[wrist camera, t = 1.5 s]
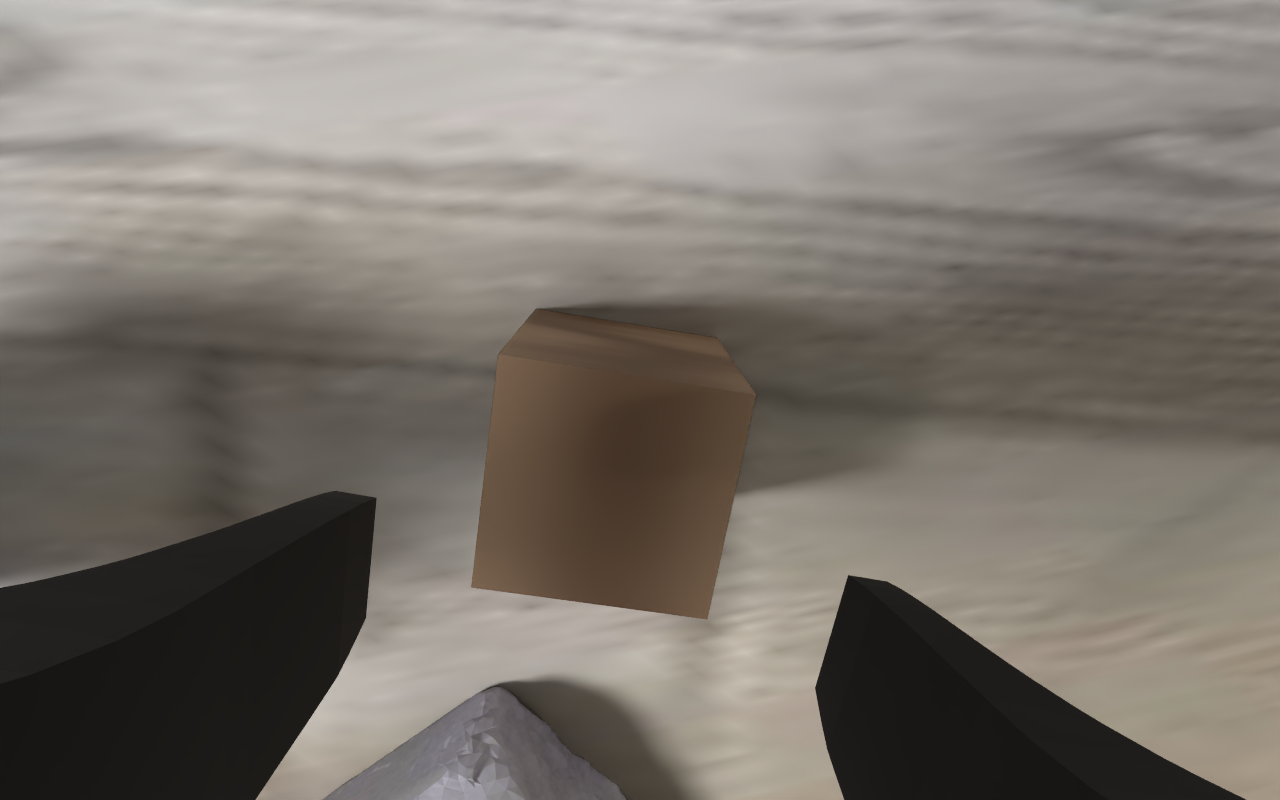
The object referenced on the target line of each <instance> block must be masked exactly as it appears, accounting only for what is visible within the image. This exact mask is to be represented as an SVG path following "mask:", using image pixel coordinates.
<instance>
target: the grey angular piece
mask: <svg viewBox="0 0 1280 800" xmlns="http://www.w3.org/2000/svg"><path fill="white" fill-rule="evenodd" d="M323 800H627V799H626V797H625V796H624V795H623V794H622V792H621V791H620V789H619V787H618V786H617V785H616V784H615V783H613V782H611V781H610V780H608V779H607V778H606V777H605V776H603V775H602V774H600V773H599V772H597V771H596V770H595V769H594V768H592V767H591V765H590V763H589V762H588V761H586V760H584V759H582V758H579V757H577V756H575V755H573V754H572V753H571V752H570V751H569V750H568V749H567V748H566V746H565V745H564V744H562V743H561V742H560V740H559V739H558V737H557V735H556V734H555V733H554V732H553V731H552V730H551V728H550V727H549V726H548V725H547V724H546V723H545V722H544V721H542V720H541V719H539V718H538V717H537V716H535V715H534V714H533V713H532V712H531V711H529V710H528V709H527V708H526V707H524V706H523V705H522V704H521V703H520V702H519V701H518V700H517V698H516V697H515V696H513V695H512V694H511V693H510V692H509V691H508V690H506V689H504V688H502V687H492V688H490V689H488V690H485V691H482V692H480V693H478V694H476V695H474V696H473V697H471V698H469V699H468V700H466V701H465V702H463V703H462V704H460V705H459V706H457V707H456V708H455V709H453V710H452V711H450V712H449V713H447V714H446V715H444V716H443V717H441V718H440V719H439V720H437V721H435V722H434V723H433V724H431V725H430V726H429V727H427V728H426V729H424V730H423V731H421V732H420V733H419V734H417V735H416V736H414V737H413V738H411V739H410V740H408V741H407V742H405V743H404V744H402V745H401V746H399V747H398V748H396V749H395V750H394V751H392V752H391V753H389V754H388V755H386V756H385V757H384V758H382V759H380V760H379V761H377V762H376V763H375V764H373V765H372V766H370V767H369V768H367V769H366V770H365V771H363V772H362V773H360V774H359V775H357V776H355V777H354V778H352V779H350V780H349V781H348V782H346V783H345V784H343V785H342V786H341V787H339V788H338V789H336V790H335V791H334V792H332V793H331V794H330V795H328V796H327V797H325V798H324V799H323Z"/></svg>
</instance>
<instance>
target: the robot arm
mask: <svg viewBox="0 0 1280 800" xmlns="http://www.w3.org/2000/svg"><path fill="white" fill-rule="evenodd" d="M375 508H376V498H374V497H368V496H362V495H356V494H350V493H344V492H338V491H333V492H329V493H324V494H320V495H317V496H314V497H311V498H308V499H305V500H302V501H299V502H296V503H293V504H290V505H287V506H285V507H282V508H279V509H276V510H274V511H271V512H268V513H265V514H262V515H260V516H257V517H254V518H251V519H248V520H246V521H243V522H240V523H237V524H234V525H232V526H229V527H226V528H223V529H220V530H217V531H214V532H211V533H208V534H205V535H202V536H199V537H196V538H193V539H189V540H186V541H183V542H180V543H177V544H174V545H171V546H167V547H164V548H161V549H158V550H155V551H152V552H149V553H145V554H142V555H139V556H135V557H132V558H128V559H125V560H121V561H117V562H113V563H110V564H106V565H102V566H98V567H94V568H90V569H86V570H82V571H78V572H73V573H69V574H65V575H61V576H56V577H52V578H48V579H44V580H39V581H34V582H29V583H25V584H19V585H14V586H8V587H3V588H0V800H255V799H256V798H257V797H258V795H259V794H260V792H261V791H262V789H263V788H264V786H265V785H266V783H267V782H268V780H269V779H270V777H271V776H272V774H273V773H274V771H275V770H276V768H277V767H278V765H279V764H280V762H281V761H282V759H283V758H284V756H285V755H286V753H287V752H288V750H289V749H290V747H291V746H292V744H293V743H294V741H295V740H296V738H297V737H298V736H299V734H300V733H301V731H302V730H303V728H304V727H305V725H306V724H307V722H308V721H309V719H310V718H311V716H312V715H313V713H314V712H315V710H316V708H317V707H318V705H319V704H320V702H321V701H322V699H323V698H324V696H325V695H326V693H327V692H328V690H329V689H330V687H331V686H332V684H333V683H334V681H335V679H336V678H337V676H338V674H339V672H340V670H341V668H342V666H343V664H344V662H345V660H346V658H347V657H348V655H349V653H350V651H351V648H352V646H353V644H354V642H355V640H356V638H357V636H358V634H359V632H360V629H361V627H362V625H363V623H364V621H365V619H366V610H367V599H368V587H369V576H370V565H371V554H372V542H373V531H374V520H375ZM815 689H816V695H817V700H818V706H819V711H820V717H821V722H822V727H823V731H824V736H825V740H826V745H827V750H828V753H829V756H830V759H831V762H832V765H833V768H834V771H835V774H836V777H837V780H838V783H839V786H840V788H841V791H842V794H843V797H844V800H1246V799H1244V798H1242V797H1240V796H1238V795H1236V794H1233V793H1231V792H1229V791H1227V790H1225V789H1223V788H1221V787H1219V786H1217V785H1215V784H1213V783H1211V782H1209V781H1207V780H1205V779H1203V778H1201V777H1199V776H1197V775H1195V774H1193V773H1191V772H1189V771H1187V770H1185V769H1183V768H1181V767H1180V766H1178V765H1176V764H1174V763H1172V762H1170V761H1168V760H1166V759H1164V758H1162V757H1161V756H1159V755H1157V754H1155V753H1153V752H1152V751H1150V750H1148V749H1146V748H1145V747H1143V746H1141V745H1139V744H1137V743H1136V742H1134V741H1132V740H1130V739H1129V738H1127V737H1125V736H1123V735H1122V734H1120V733H1118V732H1116V731H1114V730H1113V729H1111V728H1109V727H1107V726H1106V725H1104V724H1102V723H1100V722H1099V721H1097V720H1096V719H1094V718H1092V717H1091V716H1089V715H1087V714H1086V713H1084V712H1082V711H1081V710H1079V709H1077V708H1076V707H1074V706H1073V705H1071V704H1069V703H1068V702H1066V701H1065V700H1063V699H1062V698H1060V697H1059V696H1057V695H1056V694H1054V693H1052V692H1051V691H1049V690H1048V689H1046V688H1045V687H1043V686H1042V685H1040V684H1039V683H1037V682H1035V681H1034V680H1032V679H1031V678H1029V677H1028V676H1026V675H1025V674H1023V673H1022V672H1020V671H1019V670H1018V669H1016V668H1015V667H1013V666H1012V665H1010V664H1009V663H1007V662H1006V661H1004V660H1003V659H1001V658H1000V657H999V656H997V655H996V654H994V653H993V652H991V651H990V650H989V649H987V648H986V647H984V646H983V645H981V644H980V643H979V642H977V641H976V640H974V639H973V638H972V637H970V636H969V635H967V634H966V633H965V632H963V631H962V630H960V629H959V628H957V627H956V626H955V625H953V624H952V623H950V622H949V621H948V620H946V619H945V618H943V617H942V616H941V615H939V614H938V613H936V612H935V611H933V610H932V609H931V608H929V607H928V606H926V605H925V604H923V603H922V602H920V601H919V600H917V599H916V598H914V597H913V596H911V595H910V594H908V593H907V592H905V591H903V590H902V589H900V588H898V587H896V586H894V585H893V584H891V583H889V582H886V581H880V580H874V579H868V578H862V577H856V576H850V575H848V578H847V581H846V585H845V588H844V592H843V595H842V598H841V602H840V605H839V609H838V612H837V616H836V619H835V622H834V626H833V629H832V633H831V636H830V639H829V643H828V646H827V650H826V653H825V656H824V660H823V663H822V667H821V670H820V674H819V677H818V680H817V684H816V687H815Z"/></svg>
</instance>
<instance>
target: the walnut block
mask: <svg viewBox="0 0 1280 800" xmlns="http://www.w3.org/2000/svg"><path fill="white" fill-rule="evenodd" d="M755 399H756V394H755V392H754V391H753V389H752V388H751V386H750V385H749V383H748V382H747V381H746V379H745V378H744V376H743V375H742V373H741V372H740V370H739V369H738V368H737V366H736V365H735V363H734V362H733V360H732V359H731V357H730V356H729V354H728V353H727V352H726V350H725V349H724V347H723V346H722V344H721V343H720V341H719V340H718V339H717V338H714V337H708V336H702V335H696V334H689V333H683V332H677V331H671V330H665V329H658V328H652V327H646V326H640V325H634V324H628V323H621V322H615V321H609V320H603V319H597V318H590V317H584V316H578V315H572V314H566V313H560V312H553V311H547V310H541V309H535V311H534V312H533V313H532V314H531V315H530V317H529V318H528V319H527V320H526V321H525V323H524V324H523V325H522V326H521V327H520V329H519V330H518V331H517V332H516V333H515V335H514V336H513V337H512V338H511V339H510V341H509V342H508V343H507V344H506V346H505V347H504V348H503V349H502V350H501V352H500V353H499V354H498V361H497V369H496V378H495V387H494V395H493V404H492V413H491V421H490V430H489V439H488V447H487V456H486V465H485V473H484V482H483V490H482V499H481V508H480V516H479V525H478V534H477V542H476V551H475V560H474V568H473V577H472V586H471V587H472V588H480V589H487V590H495V591H502V592H509V593H517V594H524V595H532V596H539V597H546V598H554V599H561V600H569V601H576V602H583V603H591V604H598V605H606V606H613V607H620V608H628V609H635V610H643V611H650V612H657V613H665V614H672V615H679V616H687V617H694V618H702V619H707V618H708V614H709V609H710V605H711V600H712V596H713V591H714V586H715V582H716V577H717V573H718V568H719V563H720V559H721V554H722V550H723V545H724V541H725V536H726V531H727V527H728V522H729V518H730V513H731V508H732V504H733V499H734V495H735V490H736V486H737V481H738V476H739V472H740V467H741V463H742V458H743V454H744V449H745V444H746V440H747V435H748V431H749V426H750V421H751V417H752V412H753V408H754V403H755Z"/></svg>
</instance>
